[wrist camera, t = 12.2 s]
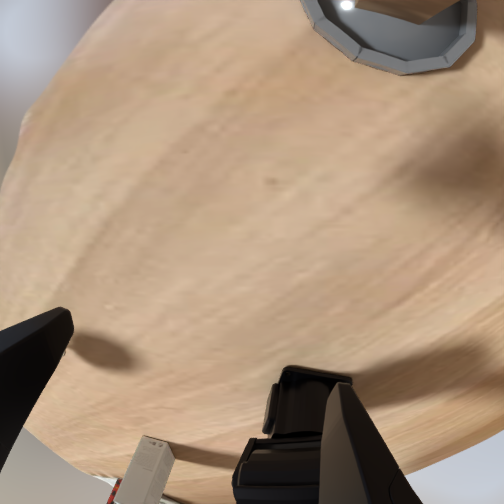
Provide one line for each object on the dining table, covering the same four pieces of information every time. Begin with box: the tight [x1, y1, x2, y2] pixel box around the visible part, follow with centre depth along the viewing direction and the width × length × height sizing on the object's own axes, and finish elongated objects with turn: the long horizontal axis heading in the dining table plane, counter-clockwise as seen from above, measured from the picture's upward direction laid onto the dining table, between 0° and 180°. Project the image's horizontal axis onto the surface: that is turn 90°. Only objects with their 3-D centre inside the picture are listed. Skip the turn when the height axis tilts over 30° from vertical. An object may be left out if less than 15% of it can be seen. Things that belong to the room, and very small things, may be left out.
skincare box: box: [113, 436, 175, 504], centre depth 33 cm, size 6×4×12 cm
